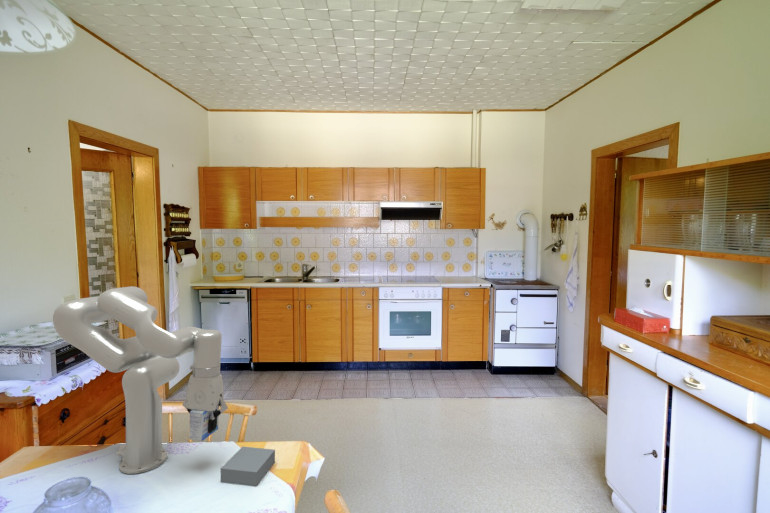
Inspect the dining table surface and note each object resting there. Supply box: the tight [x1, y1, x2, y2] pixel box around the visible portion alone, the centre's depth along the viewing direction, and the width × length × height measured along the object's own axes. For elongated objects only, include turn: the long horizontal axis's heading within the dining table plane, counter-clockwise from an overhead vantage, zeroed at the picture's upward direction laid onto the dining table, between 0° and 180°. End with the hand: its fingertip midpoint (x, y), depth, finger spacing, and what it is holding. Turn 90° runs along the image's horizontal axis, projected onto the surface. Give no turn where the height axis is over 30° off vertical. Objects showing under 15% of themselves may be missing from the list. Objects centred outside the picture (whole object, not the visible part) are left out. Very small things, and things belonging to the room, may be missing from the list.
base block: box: [220, 446, 276, 487], centre depth 111 cm, size 11×12×4 cm
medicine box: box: [188, 406, 220, 442], centre depth 113 cm, size 8×4×9 cm, turn 168°
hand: (204, 429), depth 113 cm, fingers closed on medicine box, 4 cm apart
